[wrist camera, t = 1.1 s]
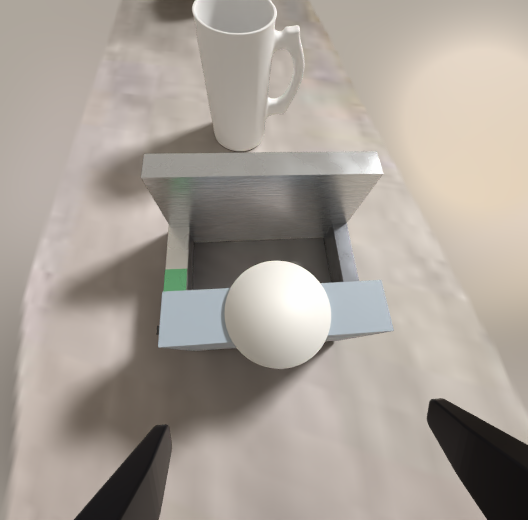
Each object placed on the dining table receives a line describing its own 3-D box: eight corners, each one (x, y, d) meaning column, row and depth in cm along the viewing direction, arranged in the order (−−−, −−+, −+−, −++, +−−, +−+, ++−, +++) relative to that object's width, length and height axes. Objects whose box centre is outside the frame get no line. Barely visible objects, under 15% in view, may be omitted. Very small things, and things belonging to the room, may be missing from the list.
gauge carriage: (342, 358, 22) (403, 359, 13) (169, 371, 21) (114, 382, 12) (331, 291, 24) (377, 255, 16) (173, 300, 23) (129, 267, 14)
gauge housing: (352, 322, 24) (421, 300, 14) (172, 334, 22) (118, 319, 13) (333, 220, 28) (376, 151, 18) (179, 225, 26) (141, 153, 17)
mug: (212, 154, 30) (190, 33, 19) (212, 113, 32) (192, -16, 21) (294, 152, 31) (321, 36, 20) (288, 113, 33) (309, -11, 22)
